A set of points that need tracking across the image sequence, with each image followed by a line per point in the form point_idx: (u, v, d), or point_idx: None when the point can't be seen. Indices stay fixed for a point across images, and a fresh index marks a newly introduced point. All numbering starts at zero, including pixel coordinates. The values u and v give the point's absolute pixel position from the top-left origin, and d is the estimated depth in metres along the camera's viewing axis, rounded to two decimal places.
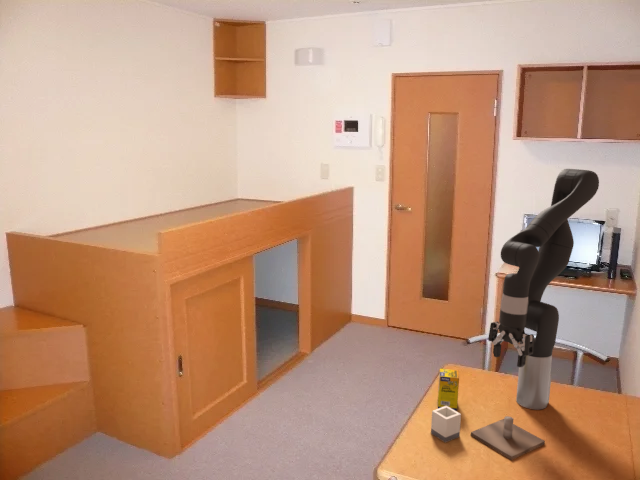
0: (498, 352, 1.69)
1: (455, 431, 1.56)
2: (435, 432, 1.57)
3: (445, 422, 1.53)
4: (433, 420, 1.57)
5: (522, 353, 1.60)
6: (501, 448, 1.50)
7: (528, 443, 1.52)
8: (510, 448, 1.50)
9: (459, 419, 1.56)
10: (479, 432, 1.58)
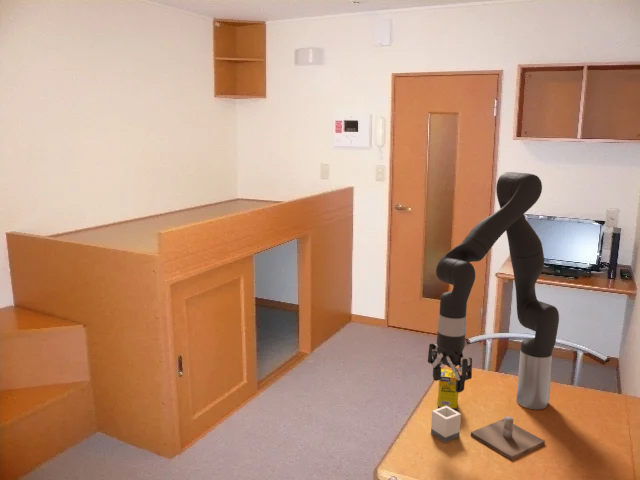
0: (438, 375, 1.58)
1: (455, 431, 1.56)
2: (435, 432, 1.57)
3: (445, 422, 1.53)
4: (433, 420, 1.57)
5: (460, 378, 1.49)
6: (501, 448, 1.50)
7: (528, 443, 1.52)
8: (510, 448, 1.50)
9: (459, 419, 1.56)
10: (479, 432, 1.58)
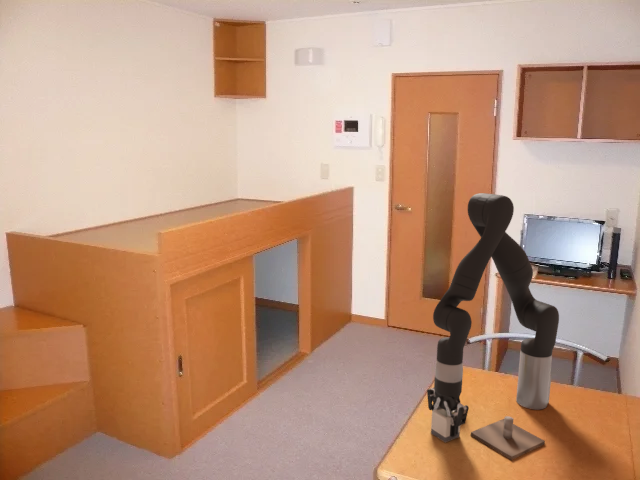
0: None
1: None
2: (435, 432, 1.57)
3: (445, 422, 1.53)
4: (433, 420, 1.57)
5: (454, 423, 1.53)
6: (501, 448, 1.50)
7: (528, 443, 1.52)
8: (510, 448, 1.50)
9: None
10: (479, 432, 1.58)
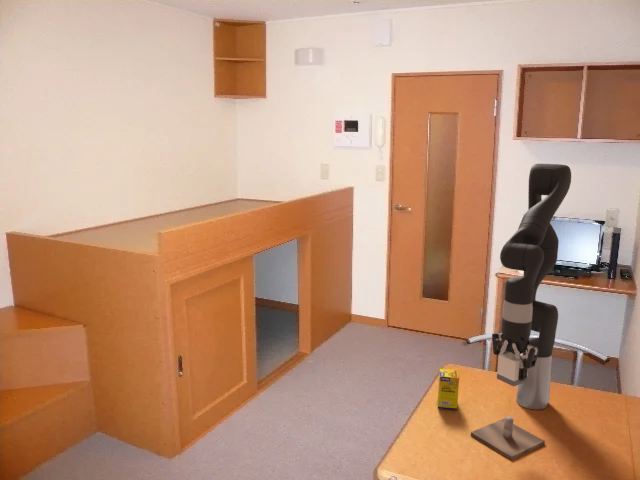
0: None
1: None
2: (501, 376, 1.51)
3: (514, 365, 1.48)
4: (499, 364, 1.52)
5: (523, 366, 1.47)
6: (501, 448, 1.50)
7: (528, 443, 1.52)
8: (510, 448, 1.50)
9: None
10: (479, 432, 1.58)
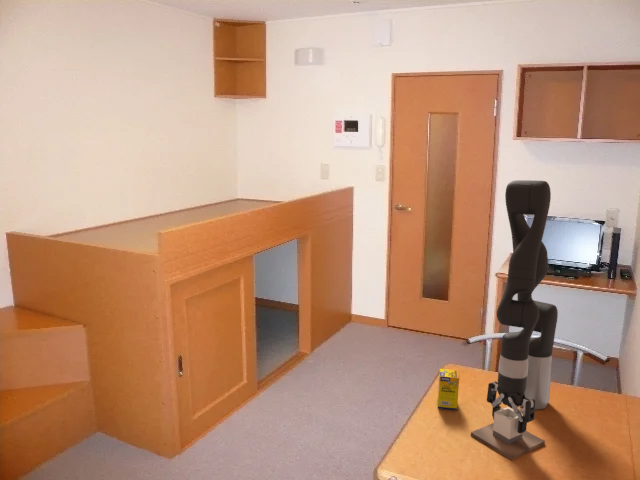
0: None
1: (518, 433, 1.53)
2: (497, 433, 1.55)
3: (509, 423, 1.51)
4: (495, 421, 1.55)
5: (522, 419, 1.49)
6: (501, 448, 1.50)
7: (528, 443, 1.52)
8: (510, 448, 1.50)
9: None
10: (479, 432, 1.58)
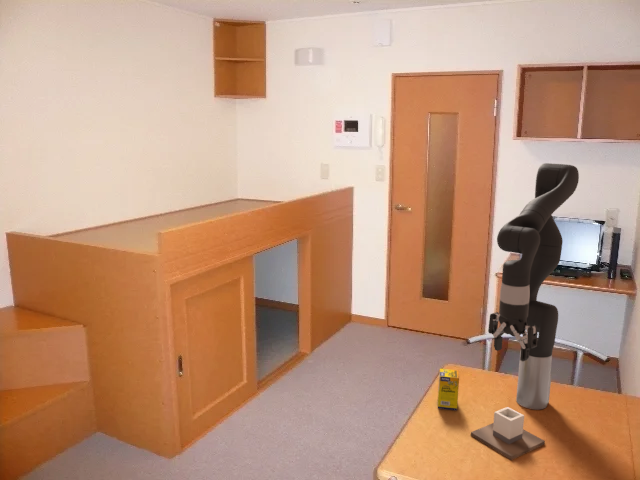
0: (499, 345, 1.57)
1: (518, 433, 1.53)
2: (497, 433, 1.55)
3: (509, 423, 1.51)
4: (495, 421, 1.55)
5: (525, 346, 1.48)
6: (501, 448, 1.50)
7: (528, 443, 1.52)
8: (510, 448, 1.50)
9: (522, 420, 1.53)
10: (479, 432, 1.58)
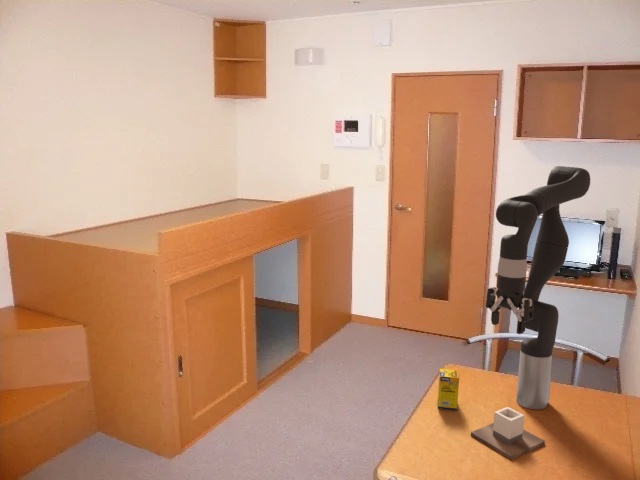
0: (496, 320, 1.60)
1: (518, 433, 1.53)
2: (497, 433, 1.55)
3: (509, 423, 1.51)
4: (495, 421, 1.55)
5: (521, 319, 1.51)
6: (501, 448, 1.50)
7: (528, 443, 1.52)
8: (510, 448, 1.50)
9: (522, 420, 1.53)
10: (479, 432, 1.58)
